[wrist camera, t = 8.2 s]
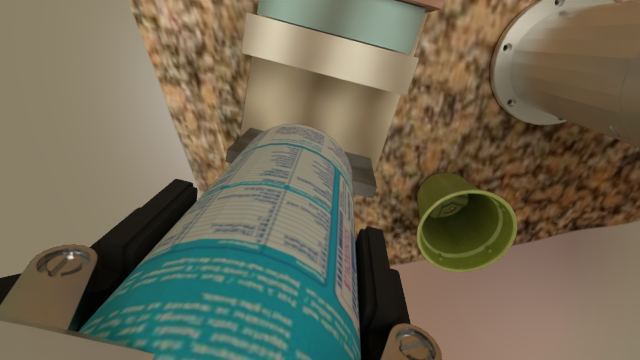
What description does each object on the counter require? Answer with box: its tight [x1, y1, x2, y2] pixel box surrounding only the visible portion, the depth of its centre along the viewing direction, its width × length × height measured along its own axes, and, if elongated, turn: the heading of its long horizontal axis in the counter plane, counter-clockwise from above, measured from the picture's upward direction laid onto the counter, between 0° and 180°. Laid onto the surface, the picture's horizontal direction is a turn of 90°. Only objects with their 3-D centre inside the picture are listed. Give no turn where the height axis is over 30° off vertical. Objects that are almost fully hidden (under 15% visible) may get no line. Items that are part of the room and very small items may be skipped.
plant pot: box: [417, 172, 517, 272], centre depth 36 cm, size 9×9×9 cm
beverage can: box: [78, 124, 361, 360], centre depth 11 cm, size 6×6×15 cm
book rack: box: [226, 0, 444, 198], centre depth 31 cm, size 16×23×11 cm
